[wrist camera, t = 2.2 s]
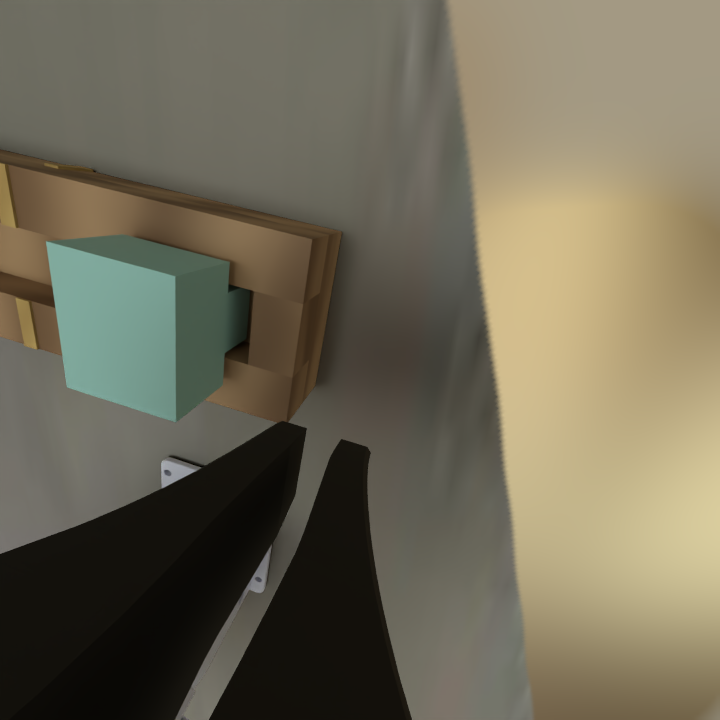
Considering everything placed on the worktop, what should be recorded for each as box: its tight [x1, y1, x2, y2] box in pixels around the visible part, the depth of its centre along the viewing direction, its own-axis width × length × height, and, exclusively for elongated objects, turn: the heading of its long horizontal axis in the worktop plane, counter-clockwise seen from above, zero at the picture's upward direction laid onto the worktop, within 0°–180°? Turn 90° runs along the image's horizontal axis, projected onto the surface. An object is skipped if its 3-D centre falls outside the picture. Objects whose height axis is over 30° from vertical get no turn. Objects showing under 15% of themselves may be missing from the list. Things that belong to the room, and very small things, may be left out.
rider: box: [46, 234, 250, 422], centre depth 15 cm, size 4×5×5 cm
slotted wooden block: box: [0, 150, 342, 423], centre depth 17 cm, size 24×8×6 cm, turn 79°
